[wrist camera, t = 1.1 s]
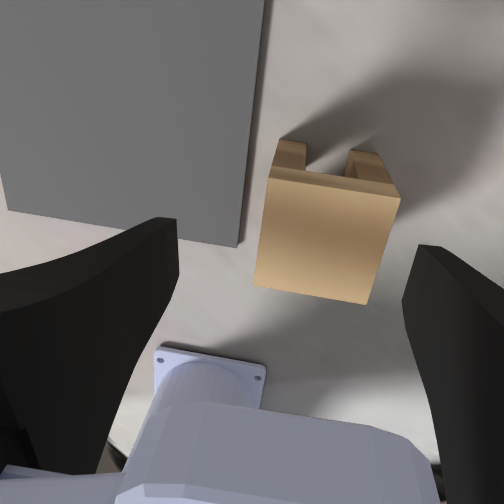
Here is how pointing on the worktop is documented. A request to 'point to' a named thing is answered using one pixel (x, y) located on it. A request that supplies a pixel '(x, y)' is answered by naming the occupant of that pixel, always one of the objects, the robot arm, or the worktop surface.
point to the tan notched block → (324, 225)
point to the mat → (129, 111)
